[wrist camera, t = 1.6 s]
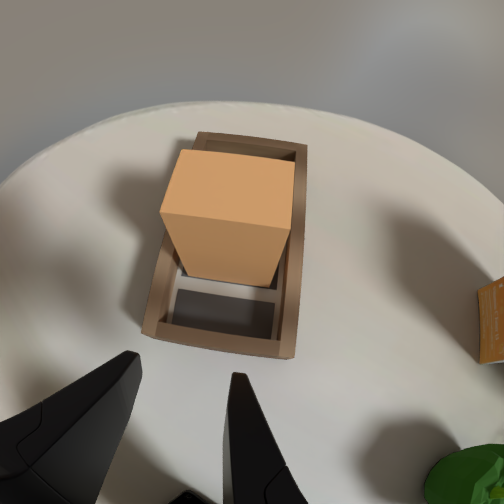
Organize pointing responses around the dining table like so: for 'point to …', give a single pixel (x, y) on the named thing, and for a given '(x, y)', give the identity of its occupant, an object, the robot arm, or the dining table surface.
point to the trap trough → (234, 294)
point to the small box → (492, 322)
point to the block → (229, 214)
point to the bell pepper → (468, 477)
